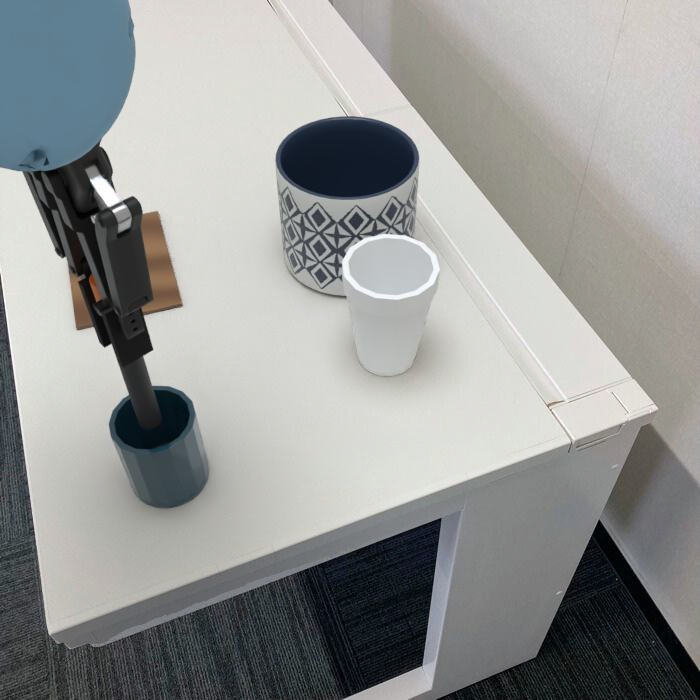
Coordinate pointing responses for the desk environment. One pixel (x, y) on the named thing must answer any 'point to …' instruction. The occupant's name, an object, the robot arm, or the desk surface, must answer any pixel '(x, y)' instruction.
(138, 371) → the marker
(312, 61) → the desk surface
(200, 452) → the pen cup
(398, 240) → the foam cup
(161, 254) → the brown wooden board
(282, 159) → the planter
